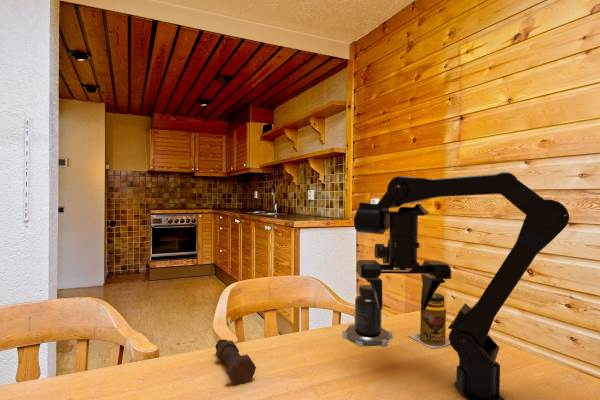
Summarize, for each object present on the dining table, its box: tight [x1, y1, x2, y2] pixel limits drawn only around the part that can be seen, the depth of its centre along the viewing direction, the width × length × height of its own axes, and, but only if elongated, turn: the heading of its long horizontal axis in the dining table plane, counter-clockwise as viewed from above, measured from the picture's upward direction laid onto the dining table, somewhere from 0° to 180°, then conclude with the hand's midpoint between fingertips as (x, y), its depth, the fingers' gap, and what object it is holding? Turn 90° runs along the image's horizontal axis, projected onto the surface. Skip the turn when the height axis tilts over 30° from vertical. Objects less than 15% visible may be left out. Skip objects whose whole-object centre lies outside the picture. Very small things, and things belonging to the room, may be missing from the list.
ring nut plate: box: [342, 323, 393, 347], centre depth 94 cm, size 13×12×1 cm
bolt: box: [215, 338, 257, 386], centre depth 76 cm, size 6×5×15 cm
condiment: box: [408, 292, 451, 349], centre depth 92 cm, size 7×8×12 cm
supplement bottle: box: [354, 284, 383, 337], centre depth 94 cm, size 7×7×12 cm
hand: (401, 309), depth 76 cm, fingers open, 9 cm apart
